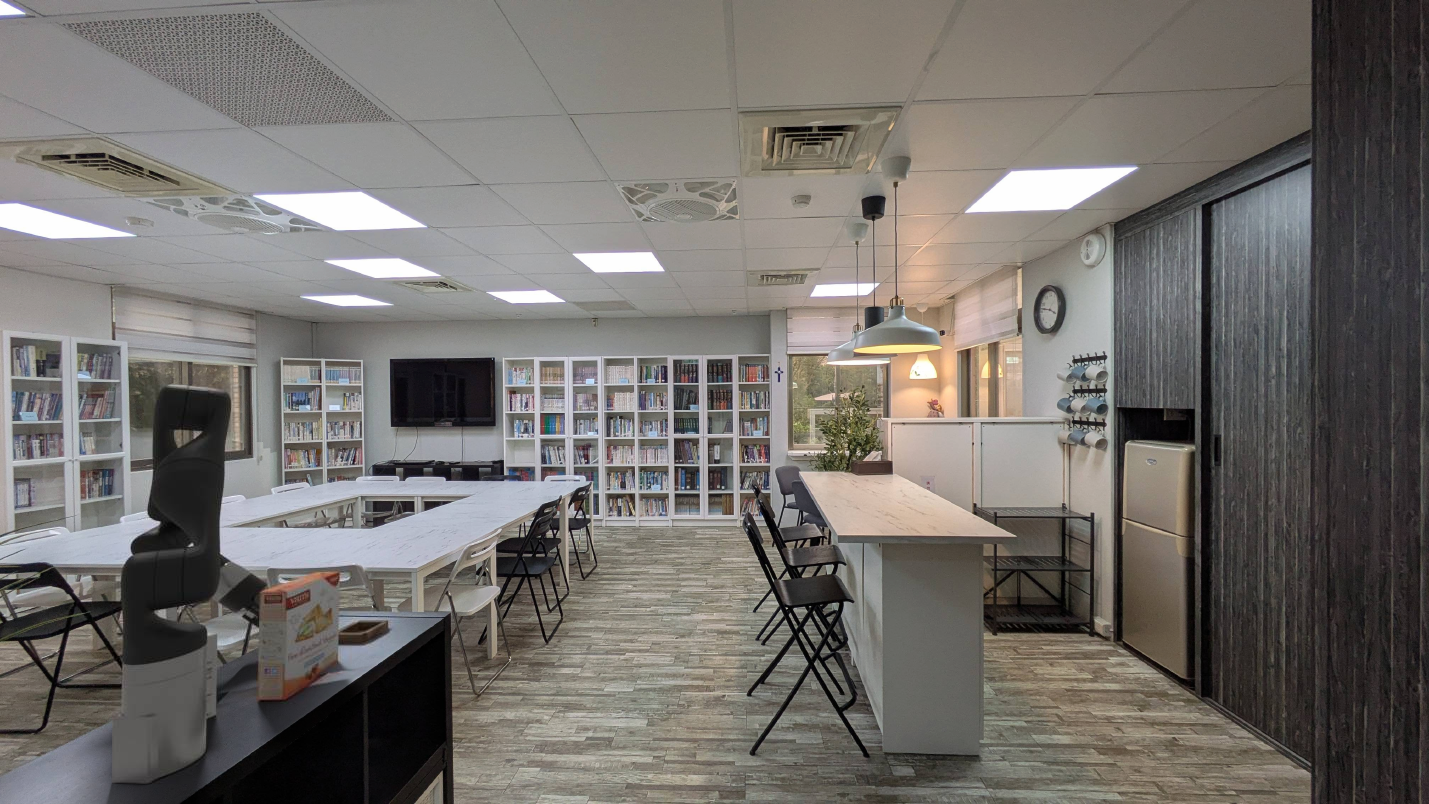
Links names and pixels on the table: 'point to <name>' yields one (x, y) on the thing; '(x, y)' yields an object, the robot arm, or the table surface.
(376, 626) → the box
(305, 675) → the cracker box
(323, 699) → the table surface
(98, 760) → the table surface
